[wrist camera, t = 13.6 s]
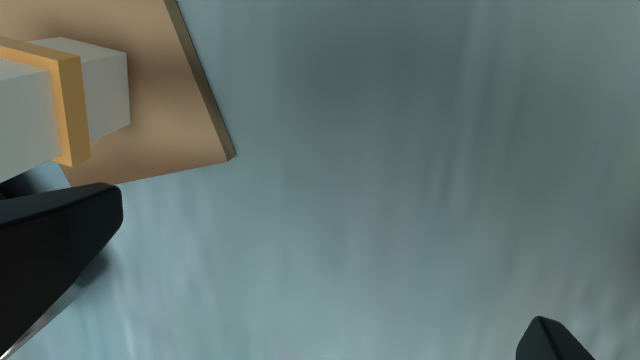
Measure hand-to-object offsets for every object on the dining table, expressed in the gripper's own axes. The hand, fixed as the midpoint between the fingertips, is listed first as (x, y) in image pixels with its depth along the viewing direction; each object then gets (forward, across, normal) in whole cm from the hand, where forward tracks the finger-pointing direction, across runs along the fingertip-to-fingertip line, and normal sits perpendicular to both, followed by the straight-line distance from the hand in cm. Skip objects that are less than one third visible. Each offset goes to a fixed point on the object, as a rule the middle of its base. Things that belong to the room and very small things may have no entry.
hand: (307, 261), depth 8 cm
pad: (+13, +16, +2) cm, 20 cm away
